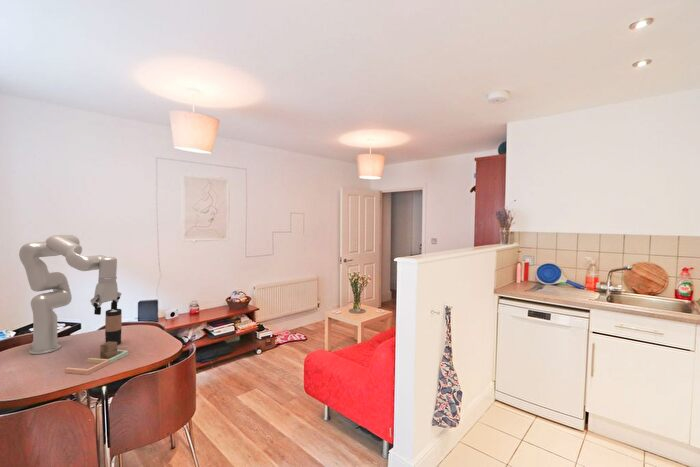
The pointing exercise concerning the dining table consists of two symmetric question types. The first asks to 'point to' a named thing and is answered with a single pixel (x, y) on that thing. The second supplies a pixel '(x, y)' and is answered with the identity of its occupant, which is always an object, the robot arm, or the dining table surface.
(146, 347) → the dining table surface
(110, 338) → the travel mug
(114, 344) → the walnut block
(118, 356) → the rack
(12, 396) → the dining table surface
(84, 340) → the dining table surface
